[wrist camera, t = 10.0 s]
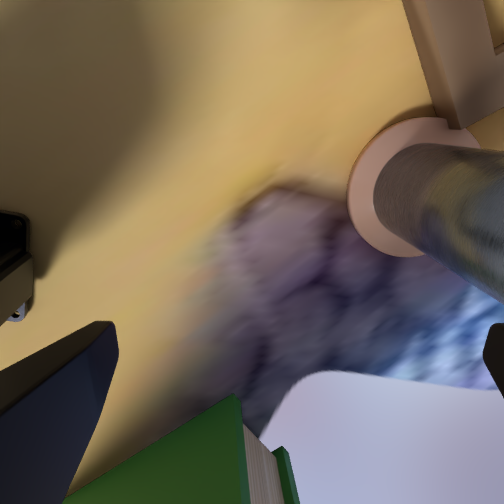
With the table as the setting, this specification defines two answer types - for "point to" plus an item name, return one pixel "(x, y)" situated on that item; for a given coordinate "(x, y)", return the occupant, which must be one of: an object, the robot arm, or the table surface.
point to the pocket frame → (458, 58)
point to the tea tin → (448, 208)
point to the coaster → (373, 163)
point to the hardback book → (199, 467)
